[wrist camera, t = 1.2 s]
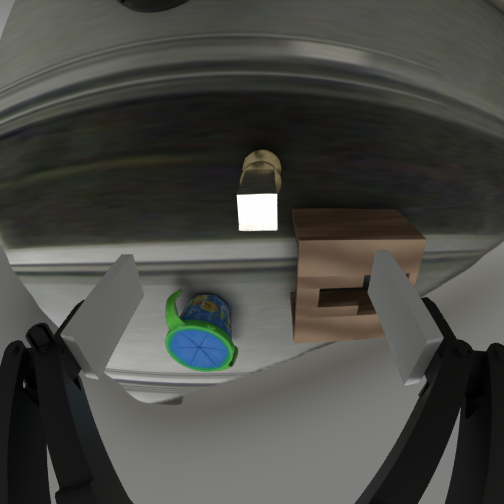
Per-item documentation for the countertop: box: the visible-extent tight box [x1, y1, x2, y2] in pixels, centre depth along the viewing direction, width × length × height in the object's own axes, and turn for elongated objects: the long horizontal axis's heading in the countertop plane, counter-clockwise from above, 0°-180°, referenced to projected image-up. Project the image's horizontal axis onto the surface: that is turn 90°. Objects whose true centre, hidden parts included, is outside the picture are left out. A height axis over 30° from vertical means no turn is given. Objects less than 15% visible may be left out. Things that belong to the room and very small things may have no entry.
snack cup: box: [165, 289, 238, 372], centre depth 45 cm, size 16×10×10 cm
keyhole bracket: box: [290, 208, 427, 343], centre depth 38 cm, size 16×16×10 cm
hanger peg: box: [237, 149, 281, 231], centre depth 30 cm, size 5×5×17 cm
